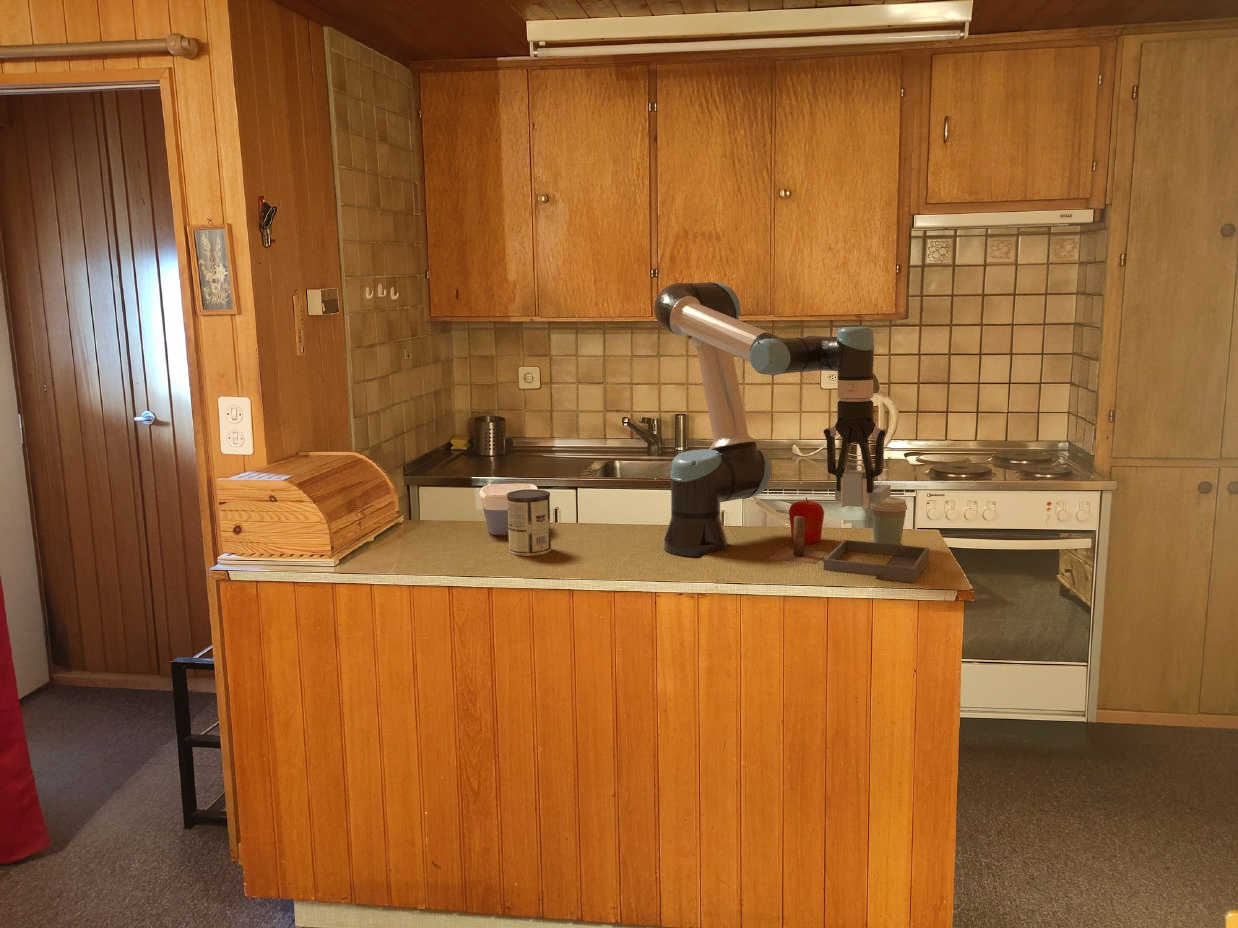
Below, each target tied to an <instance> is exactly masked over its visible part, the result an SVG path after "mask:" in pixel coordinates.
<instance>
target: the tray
mask: <svg viewBox="0 0 1238 928" xmlns="http://www.w3.org/2000/svg"><path fill="white" fill-rule="evenodd" d="M846 551H850V552H860V553H870V554H878V555H879V554H880V555H890V556H892V557H891V558H890V560H888V561H887V563H886V564H881V563H879V564H878V563H870V562H869V563H868V562H859V561H851V560H843V559H842V560H840V558H841V556H842V555H843V554H845V552H846ZM929 556H930V547H926V546H914V545H905V544H904V545H903V544H901V545H895V544H884V543H874V541H864V540H863V541H861V540H852V539H851V540H850V539H843V540H842V541H841V542H840V543H839V544H838V545H837V546H836V547H835V548H834V549H833V550H832V551H831V552H829V554H828V555H827V556H826V557H824V559H823V570H824V571H832V572H842V573H850V574H859V575H860V574H861V575H866V576H867V575H868V576H876V577H874V579H875V580H882V581H883V580H884V581H892V582H901V583H911V584H915V583H916V581H917V579H918V578H919V576H920V575H921V573H922V572H923V570H924V568H926V566H927V565H928V563H929V559H930V557H929Z"/></svg>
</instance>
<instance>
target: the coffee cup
mask: <svg viewBox="0 0 1238 928" xmlns="http://www.w3.org/2000/svg"><path fill="white" fill-rule="evenodd" d="M869 507H870V509H871V518H872V532H873V542H874V543H884V544H895V545H902V537H903V532H904V526H905V518H906V512H907V510H908V505H907V502H906V500H905V499H903V498H901V497H894V496H889V497H888V498H887V499H886V500H884V501H883V502H882V503H870V505H869Z"/></svg>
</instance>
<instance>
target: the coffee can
mask: <svg viewBox="0 0 1238 928" xmlns="http://www.w3.org/2000/svg"><path fill="white" fill-rule="evenodd" d="M550 498H551V492H550V491H548V490H545V489H544V490H543V489H538V490H536V489H528V490H517V491H512V492H509V493H507V503H508V531H509V535H508V552H509V554H511V555H515V556H519V557H520V556H522V557H534V556H535V557H536V556H541V555H546V554H548V553H550V552H551V551H552V543H551V541H552V539H551V536H552V535H551V534H552V533H551V505H550V504H551V503H550V501H551V500H550Z"/></svg>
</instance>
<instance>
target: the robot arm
mask: <svg viewBox="0 0 1238 928" xmlns="http://www.w3.org/2000/svg"><path fill="white" fill-rule="evenodd" d="M653 313H654V317H655V319H656V321H657V323H658V324H659V326H660V327H662V328H663V329H665V330H666V331H668V332H669V333H672V334H675V335H677V336H679V337H686V336H687V339H688V342H689V343H691V344H692V345H693V346H695V347H696V354H697V358H698V363H699V369H700V373H701V374H700V375H701V380H702V384H703V389H704V395H705V401H706V406H707V413H708V416H709V422H710V428H711V434H712V438H713V441H712V444H711V445H710V447H708V449H707V448H705V449H703V448H702V449H693V450H686V451H683V452H681V453H678V454H677V455H675V456H674V457H673V459H672V462H671V471H670V489H671V490H670V492H671V497H670V498H671V508H670V509H671V511H670V512H671V513H670V514H671V515H670V520H669V524H668V527H667V530H666V533H665V536H664V540H663V549H664V551H665V552H668V553H670V554H673V555H677V556H683V557H705V556H706V555H707V554H709V555H710V554H714V553H719V552H723V551H724V550H726V549H727V548H728V539H727V535H726V533H725V529H724V526H723V523H722V520H721V503H725V502H730V501H736V500H741V499H742V500H743V499H744V500H745V499H750V498H751V497H756V496H758V495H760V494H762V493H763V492H764V490H766V489H767V485H769V484H770V479H771V475H772V467H771V461H770V459H769V457H768V455H766V453H765V452H764V451H763V450H761V449H759V448H758V447H757V446H758V445H757V442H756V441H757V440H756V439H754V438H753V437H751V436H750V435H749V433H748V432H749V431H748V427H747V421H746V415H745V411H744V406H743V400H742V395H741V389H740V384H739V378H738V374H737V373H738V372H737V369H736V363H735V358H734V357H737V358H739V359H742V360H744V361H746V362H749V363H750V364H751V366H752V368H753V369H754V370H755V372H757V373H758V374H760V375H765V376H767V375H769V376H779V375H782V374H783V375H784V374H794V373H806V372H807V373H808V372H819V371H821V372H823V371H824V372H826V371H829V372H837V398H838V399H839V400H837V401H838V402H837V403H836V404H837V407H836V408H837V409H836V410H837V411H836V412H837V413H836V414H837V415H836V416H837V420H836V422H835V424H834V426H831V427H827V428H825V429H824V430H823V435H824V436H825V439H826V457H827V461H826V462H827V473H828V474H829V475H833V476H835V478H836V480H835V481H836V486H835V488H836V489H837V491H841V501H840V507H841V508H846V507H847V506H843V473H845V472H846V466H847V462H848V457H849V452H850V449H851V444H852V443H856V444H858V445H859V449H860V453H861V457H862V461H863V468H864V471H865V473H866V477H865V478H863V503H862V506H861V507H862V510H863V509H868V508H869V507H870V503H869V493H872V492H873V490H874V484H875V482H874V481H875V477H879V476H881V475H882V474H883V471H884V455H885V454H884V451H885V440H886V437H887V434H888V430H887V429H886V428H884V429H883V428H880V427H878V426H876V423H875V420H874V401H873V400H871V399H873V398H874V360H875V359H874V356H875V355H874V354H875V342H874V332H873V329H872V328H871V327H869V326H847V327H844V326H843V327H840V328H838V330H837V335H836V336H825V335H824V336H819V335H807V336H801V337H800V336H799V337H780V336H778V335H776V334H772V333H771V332H768V331H766V330H764V329H761V328H759V327H756V326H754V325H751V324H749V323H747V322H743V321H742V320H740V316H741V303H740V300H739V298H738V295H737V293H736V292H735V291H734V289H732V288H731V287H730V286H728V285H727V284H726V283H720V282H714V281H708V282H676V283H675V282H674V283H672V284H669V285H667V286H665V287H664V288H662V290H660V292H659V293H658V294H657V296H656V298H655V300H654V303H653ZM873 433H874V437H875V438H876V439H875V451H874V452H875V453H874V465H873V460H872V457H871V456H872V455H871V451H870V447H869V446H870V444H869V443H870V441H869V438H870V437H871V435H872V434H873ZM837 434H839V436H840V437H841V438H842V440H841V441H842V442H841V444H840V446H841V448H840V452H839V457H838V462H837V458H836V457H837V456H836V454H837V452H836V435H837ZM836 489H835V490H836Z"/></svg>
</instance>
